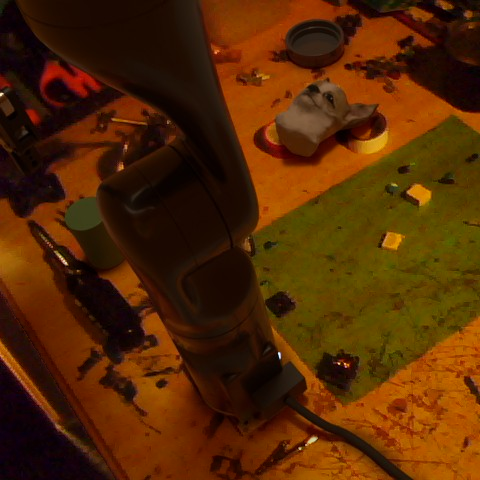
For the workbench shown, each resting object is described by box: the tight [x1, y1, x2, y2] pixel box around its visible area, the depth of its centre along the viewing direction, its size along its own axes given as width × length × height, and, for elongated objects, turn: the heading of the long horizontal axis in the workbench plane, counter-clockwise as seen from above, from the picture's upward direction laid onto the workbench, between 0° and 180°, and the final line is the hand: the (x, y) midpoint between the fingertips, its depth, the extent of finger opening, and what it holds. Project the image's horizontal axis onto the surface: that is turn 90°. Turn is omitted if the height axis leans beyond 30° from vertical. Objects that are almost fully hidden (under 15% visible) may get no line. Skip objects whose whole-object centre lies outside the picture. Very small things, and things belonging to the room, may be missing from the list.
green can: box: [64, 196, 125, 270], centre depth 81 cm, size 5×5×8 cm
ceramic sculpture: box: [273, 77, 380, 158], centre depth 91 cm, size 11×9×15 cm
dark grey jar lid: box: [284, 18, 346, 69], centre depth 104 cm, size 9×9×2 cm
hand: (6, 152), depth 66 cm, fingers open, 8 cm apart
